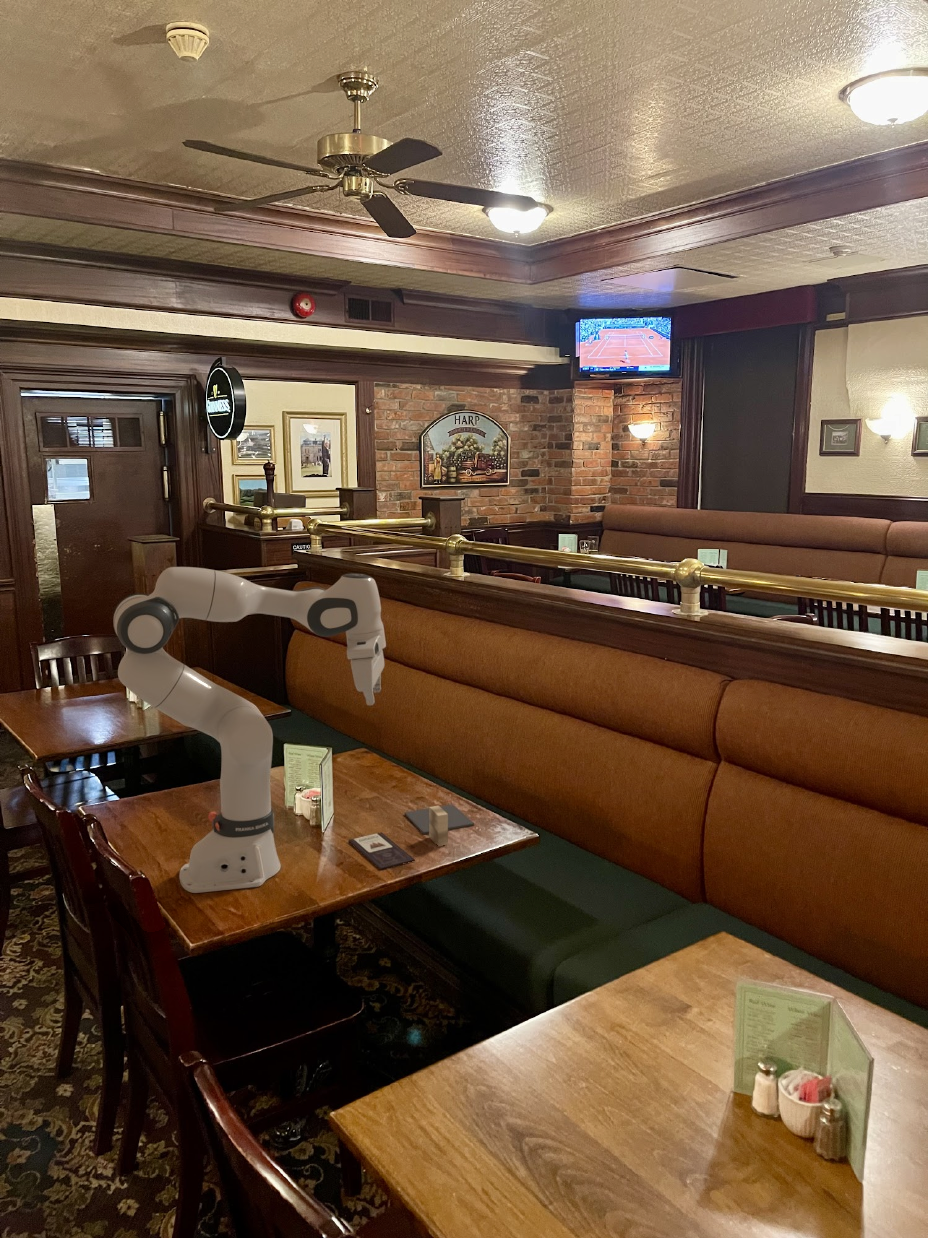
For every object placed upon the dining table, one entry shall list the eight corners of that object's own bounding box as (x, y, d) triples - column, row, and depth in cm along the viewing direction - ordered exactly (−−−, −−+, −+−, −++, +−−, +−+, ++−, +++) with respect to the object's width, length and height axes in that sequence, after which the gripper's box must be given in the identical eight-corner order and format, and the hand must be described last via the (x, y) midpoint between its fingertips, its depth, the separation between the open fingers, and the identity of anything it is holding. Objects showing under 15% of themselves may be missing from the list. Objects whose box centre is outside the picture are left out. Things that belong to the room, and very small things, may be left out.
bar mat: (423, 834, 231) (423, 832, 230) (404, 814, 243) (404, 812, 243) (474, 825, 236) (474, 823, 236) (453, 806, 249) (453, 804, 249)
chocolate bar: (380, 868, 211) (348, 840, 226) (380, 872, 211) (348, 843, 226) (414, 859, 215) (381, 832, 231) (415, 863, 216) (381, 836, 231)
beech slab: (447, 845, 225) (447, 814, 223) (438, 846, 224) (438, 815, 222) (438, 835, 230) (438, 805, 229) (429, 837, 229) (429, 807, 228)
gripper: (360, 631, 223) (368, 685, 226) (344, 654, 203) (353, 713, 207) (386, 629, 223) (393, 683, 226) (372, 651, 203) (380, 710, 206)
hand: (374, 697), depth 216 cm, fingers open, 8 cm apart
